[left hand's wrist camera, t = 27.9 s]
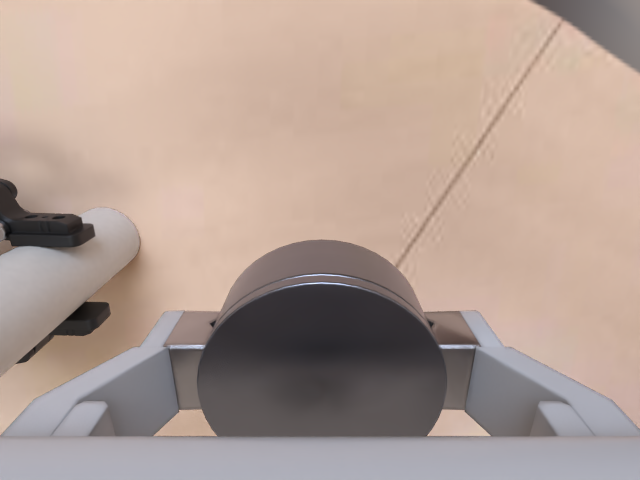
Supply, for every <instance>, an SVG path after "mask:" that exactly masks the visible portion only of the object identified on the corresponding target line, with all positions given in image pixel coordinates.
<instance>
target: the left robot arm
mask: <svg viewBox="0 0 640 480" xmlns="http://www.w3.org/2000/svg"><path fill="white" fill-rule="evenodd" d="M219 314H220V312H219V311H166V312H164V313H163V314H162V316H161V317H160V319H159V320H158V322H157V323H156V324H155V326H154V327H153V329H152V330H151V331H150V333H149V334H148V336H147V337H146V338H145V340H144V341H143V343H142V344H141V346H140V347H133V348H131V349H129V350H127V351H125V352H123V353H121V354H119V355H117V356H115V357H114V358H112V359H110V360H108V361H106V362H104V363H102V364H100V365H98V366H96V367H95V368H93V369H91V370H89V371H87V372H85V373H83V374H81V375H79V376H77V377H76V378H74V379H72V380H70V381H68V382H66V383H64V384H62V385H60V386H58V387H57V388H55V389H53V390H51V391H49V392H47V393H45V394H43V395H41V396H39V397H38V398H36V399H34V400H33V401H32V402H31V403H30V404H29V405H28V406H27V407H26V408H25V410H24V411H23V412H22V413H21V414H20V415H19V416H18V417H17V418H16V419H15V420H14V421H13V422H12V424H11V425H10V426H9V427H8V428H7V429H6V430H5V431H4V432H3V433H2V434H1V435H0V480H640V429H639V428H638V427H637V426H636V425H635V424H634V423H633V422H632V421H631V420H630V419H629V418H628V416H627V415H626V414H625V413H624V412H623V411H622V410H621V409H620V408H619V407H618V406H617V405H616V404H615V403H614V402H613V400H611V399H609V398H607V397H605V396H603V395H602V394H600V393H598V392H596V391H594V390H592V389H590V388H588V387H586V386H584V385H582V384H580V383H579V382H577V381H575V380H573V379H571V378H569V377H567V376H565V375H563V374H561V373H559V372H558V371H556V370H554V369H552V368H550V367H548V366H546V365H544V364H542V363H540V362H538V361H537V360H535V359H533V358H531V357H529V356H527V355H525V354H523V353H521V352H519V351H517V350H515V349H514V348H512V347H504V345H503V344H502V343H501V341H500V340H499V339H498V337H497V336H496V334H495V333H494V332H493V330H492V329H491V328H490V326H489V325H488V324H487V322H486V321H485V319H484V318H483V317H482V315H481V314H480V313H479V312H478V311H476V310H474V311H444V312H424V314H425V316H426V319H427V321H428V323H429V325H430V327H431V329H432V332H433V334H434V336H435V338H436V340H437V342H438V345H439V347H440V349H441V351H442V354H443V357H444V361H445V364H446V372H447V391H446V397H445V401H444V405H443V408H442V409H453V410H465V412H466V413H467V414H468V415H469V416H470V417H471V418H472V419H474V420H475V421H476V422H477V423H478V424H479V425H480V426H481V427H482V428H483V429H484V430H486V431H487V432H488V433H489V434H490V435H491V436H153V435H154V434H155V433H157V432H158V431H159V430H160V429H161V428H162V427H163V426H164V425H165V424H166V423H167V422H168V421H170V420H171V419H172V418H173V417H174V416H175V415H176V414H177V413H178V412H179V410H190V409H202V408H201V405H200V401H199V396H198V389H197V373H198V365H199V361H200V358H201V354H202V352H203V349H204V347H205V345H206V343H207V340H208V338H209V336H210V334H211V332H212V329H213V327H214V325H215V323H216V320H217V318H218V316H219Z"/></svg>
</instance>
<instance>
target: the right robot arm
mask: <svg viewBox="0 0 640 480" xmlns="http://www.w3.org/2000/svg"><path fill="white" fill-rule="evenodd" d="M16 196H17V189H16V187H15V185H14V184H13V183H11V182H10V181H7V180H4V179H0V242H1V241H3V240H10V241H11V245H12V246H34V247H77V246H80V245H82V244H84V243H86V242H87V241H89V240H90V239H92V238H93V237H95V236H96V235H95V230H94V225H93V224H90V223H83V222H82V218H81V217H79V216H76V215H74V214H50V213H30V212H29V211H27V210H24V209H22V208H21V207H20V206H19V204H18V203H17V201H16V200H15V197H16ZM110 314H111V313H110V308H109V304H108V303H106V302H84V303H83V304H82V305H81V306H80V307H79V308H77V309H76V310H75V311H74V312H73V313H72V314H71V315H70V316H68V317H67V318H66V319H65V320H64V321H63V322H62V323H61V324H59V325H58V326H57V327H56V328H55V329H54V330H53V331H52V332H50V333H49V334H48V335H47V336H46V337H45V338H44V339H43V340H41V341H40V342H39V343H38V344H37V345H36V346H35V347H34V348H32V349H31V350H30V351H29V352H28V353H27V354H26V355H25V356H23V357H22V358H21V359H20V360H19V361H18V362H17V363H16V364H18V363H23V362H27V361H28V360H29V359H30V358H31V357H32V356H33V355H35V354H36V353H37V352H38V351H39V350H40V349H41V348H42V347H43V346H44V345H45V344H47V343H48V342H49V341H50V340H51V339H52V338H53V337H54V335H71V336H73V335H75V336H84V335H87V334H90V333H92V332H93V330H94V329H96V328H98V327H99V326H100V325H101V324H102V323H103V322H104V321H105V320H106V319H107V318H108V317H109V316H110Z"/></svg>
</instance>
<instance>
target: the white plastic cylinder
mask: <svg viewBox="0 0 640 480" xmlns="http://www.w3.org/2000/svg"><path fill="white" fill-rule="evenodd" d="M79 217H81V218H82V222H83V223H90V224H93V225H94V230H95V235H96V236H95V237H93V238H92V239H90V240H89V241H87V242H86V243H84V244H82V245H80V246H77V247H34V246H18V247H16V248H14V249H12V250H10V251H8V252H6V253H4V254H2V255H1V256H0V377H1V376H2V375H3V374H4V373H5V372H7V371H8V370H9V369H10V368H11V367H12V366H13V365H14V364H16V363H17V362H18V361H19V360H20V359H21V358H22V357H23V356H25V355H26V354H27V353H28V352H29V351H30V350H31V349H32V348H34V347H35V346H36V345H37V344H38V343H39V342H40V341H41V340H43V339H44V338H45V337H46V336H47V335H48V334H49V333H50V332H52V331H53V330H54V329H55V328H56V327H57V326H58V325H59V324H61V323H62V322H63V321H64V320H65V319H66V318H67V317H68V316H70V315H71V314H72V313H73V312H74V311H75V310H76V309H77V308H79V307H80V306H81V305H82V304H83V303H84V302H85V301H86V300H88V299H89V298H90V297H91V296H92V295H93V294H94V293H95V292H97V291H98V290H99V289H100V288H101V287H102V286H103V285H104V284H106V283H107V282H108V281H109V280H110V279H111V278H112V277H113V276H115V275H116V274H117V273H118V272H119V271H120V270H121V269H122V268H124V267H125V266H126V265H127V264H128V263H129V262H130V261H131V260H132V259H134V257H135V256H136V255H137V253H138V250H139V246H140V238H139V234H138V231H137V229H136V227H135V225H134V224H133V223H132V221H131V220H130V219H129V218H128V217H126V216H125V215H124V214H122V213H121V212H119V211H116V210H114V209H111V208H105V207H99V208H93V209H90V210H88V211H86V212H84V213H82V214H80V215H79Z"/></svg>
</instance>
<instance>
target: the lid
mask: <svg viewBox="0 0 640 480" xmlns="http://www.w3.org/2000/svg"><path fill="white" fill-rule="evenodd" d="M197 389H198V396H199V401H200V405H201V408H202V410H203V413H204V415H205V418H206V420H207V421H208V423H209V425H210V426H211V428H212V430H213V431H214V432H215V433H216V435H217V436H427V435H428V433H429V432H430V431H431V430H432V428H433V426H434V425H435V423H436V421H437V420H438V418H439V415H440V413H441V410H442V408H443V405H444V401H445V397H446V391H447V372H446V364H445V361H444V357H443V354H442V351H441V349H440V347H439V345H438V342H437V340H436V338H435V336H434V334H433V332H432V329H431V327H430V325H429V323H428V321H427V319H426V316H425V314H424V312H423V310H422V308H421V306H420V303H419V301H418V299H417V297H416V295H415V293H414V290H413V288H412V287H411V285H410V284H409V282H408V281H407V279H406V278H405V277H404V276H403V274H402V273H401V272H400V271H399V270H398V269H397V268H396V267H395V266H394V265H392V264H391V263H390V262H389V261H388V260H386V259H384V258H383V257H381V256H380V255H378V254H377V253H375V252H372V251H370V250H368V249H366V248H364V247H361V246H358V245H354V244H351V243H347V242H341V241H336V240H308V241H302V242H297V243H292V244H289V245H286V246H283V247H280V248H278V249H275V250H273V251H271V252H269V253H267V254H265V255H264V256H262V257H261V258H259V259H258V260H256V261H255V262H254V263H252V264H251V265H250V266H249V267H248V268H247V269H245V271H244V272H243V273H242V274H241V275H240V276H239V277H238V279H237V280H236V282H235V283H234V285H233V286H232V288H231V289H230V292H229V294H228V296H227V298H226V300H225V303H224V305H223V307H222V309H221V311H220V314H219V316H218V318H217V320H216V323H215V325H214V327H213V329H212V332H211V334H210V336H209V338H208V340H207V343H206V345H205V347H204V349H203V352H202V354H201V358H200V361H199V365H198V373H197Z"/></svg>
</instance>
